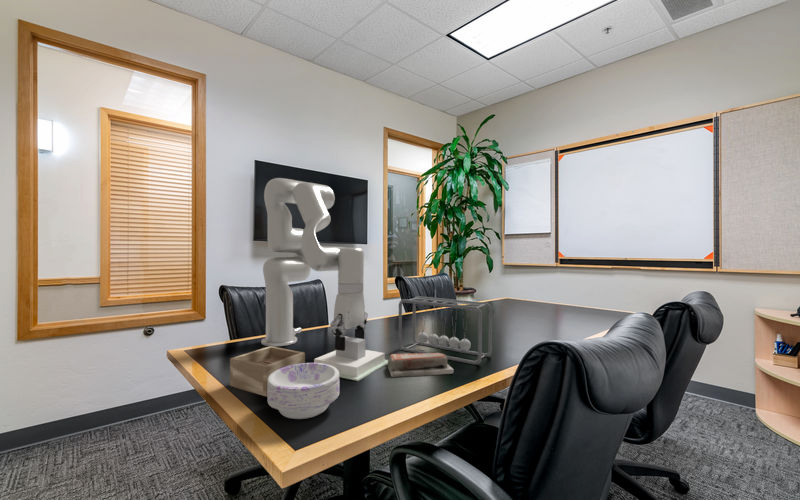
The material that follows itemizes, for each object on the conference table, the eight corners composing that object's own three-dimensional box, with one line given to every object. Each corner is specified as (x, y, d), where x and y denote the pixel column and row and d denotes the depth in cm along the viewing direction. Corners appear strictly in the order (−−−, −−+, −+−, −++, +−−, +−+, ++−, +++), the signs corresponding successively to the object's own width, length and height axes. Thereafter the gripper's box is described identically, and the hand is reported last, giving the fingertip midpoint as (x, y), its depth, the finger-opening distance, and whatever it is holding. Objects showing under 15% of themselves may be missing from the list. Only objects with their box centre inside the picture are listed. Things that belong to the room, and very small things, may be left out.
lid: (345, 353, 116) (345, 331, 116) (384, 361, 109) (384, 336, 109) (314, 367, 103) (314, 341, 103) (356, 376, 96) (357, 349, 96)
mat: (344, 353, 118) (344, 352, 118) (391, 361, 110) (391, 360, 110) (306, 369, 102) (306, 368, 102) (357, 381, 94) (357, 379, 94)
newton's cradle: (397, 350, 123) (398, 298, 123) (413, 343, 132) (413, 295, 131) (480, 366, 106) (481, 307, 106) (492, 357, 115) (492, 303, 115)
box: (270, 370, 102) (270, 346, 101) (304, 378, 95) (304, 352, 95) (230, 386, 90) (230, 358, 90) (266, 396, 84) (266, 367, 84)
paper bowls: (276, 434, 67) (276, 393, 67) (260, 404, 80) (260, 369, 80) (350, 415, 75) (350, 377, 75) (325, 390, 88) (325, 358, 88)
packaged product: (391, 361, 97) (386, 350, 107) (391, 379, 97) (386, 366, 107) (454, 358, 100) (444, 348, 110) (454, 375, 100) (444, 363, 110)
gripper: (357, 285, 115) (356, 337, 116) (321, 291, 100) (321, 351, 100) (376, 286, 112) (376, 340, 112) (343, 293, 97) (342, 355, 97)
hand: (350, 345), depth 106 cm, fingers open, 9 cm apart
